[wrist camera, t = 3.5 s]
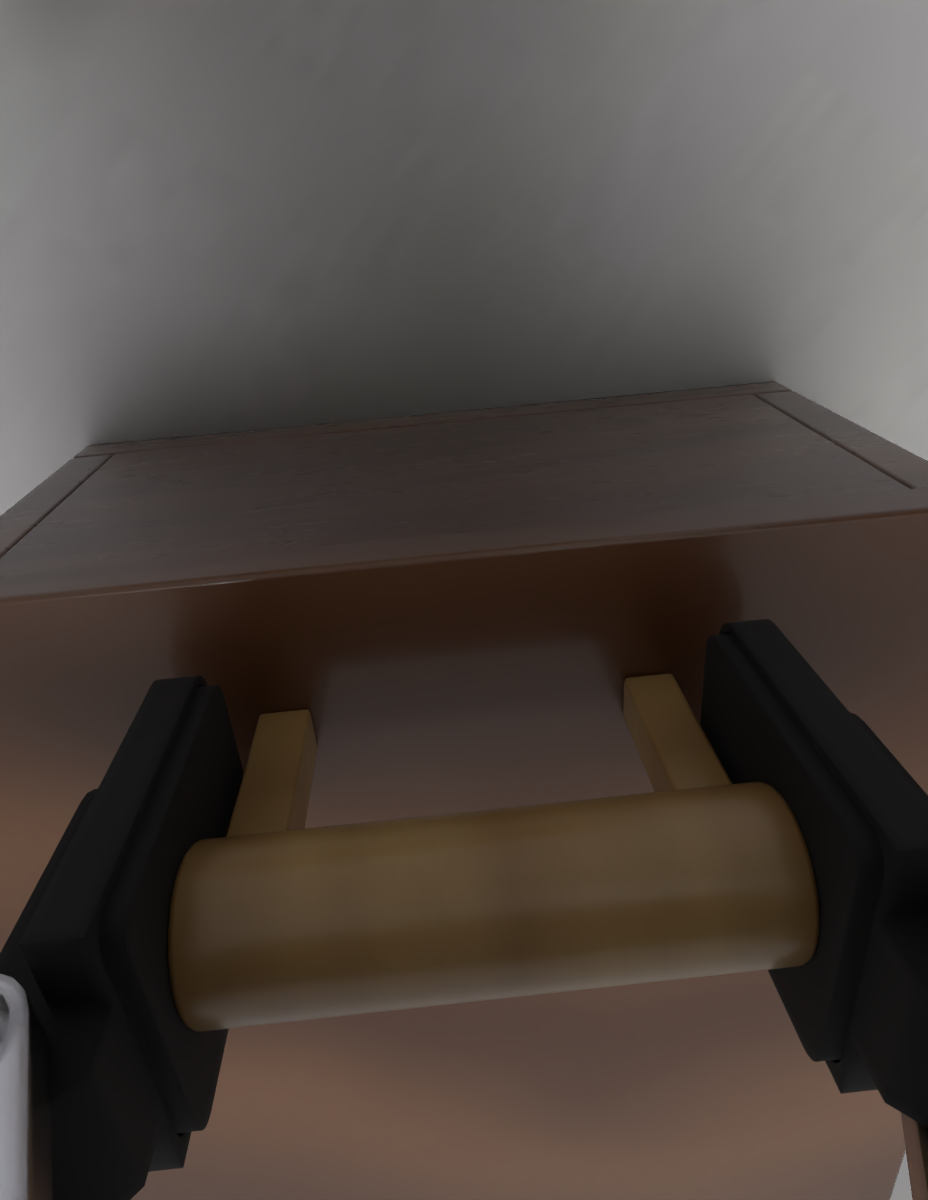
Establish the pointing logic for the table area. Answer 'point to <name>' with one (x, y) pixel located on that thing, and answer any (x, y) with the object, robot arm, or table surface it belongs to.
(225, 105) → the table surface
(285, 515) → the chest
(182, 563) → the lid
